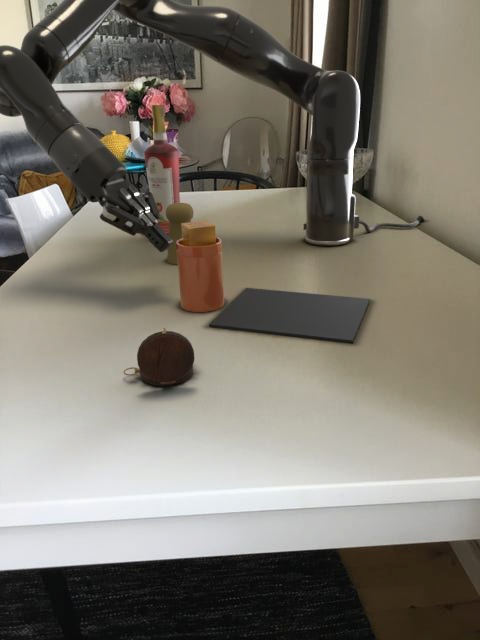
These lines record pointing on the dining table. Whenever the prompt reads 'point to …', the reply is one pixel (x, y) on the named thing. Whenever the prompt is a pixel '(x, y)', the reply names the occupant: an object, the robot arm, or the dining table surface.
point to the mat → (294, 314)
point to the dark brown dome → (164, 358)
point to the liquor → (162, 168)
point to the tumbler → (200, 276)
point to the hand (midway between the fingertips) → (167, 247)
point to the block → (198, 233)
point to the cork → (177, 225)
